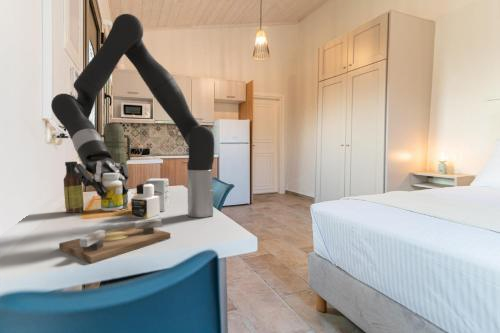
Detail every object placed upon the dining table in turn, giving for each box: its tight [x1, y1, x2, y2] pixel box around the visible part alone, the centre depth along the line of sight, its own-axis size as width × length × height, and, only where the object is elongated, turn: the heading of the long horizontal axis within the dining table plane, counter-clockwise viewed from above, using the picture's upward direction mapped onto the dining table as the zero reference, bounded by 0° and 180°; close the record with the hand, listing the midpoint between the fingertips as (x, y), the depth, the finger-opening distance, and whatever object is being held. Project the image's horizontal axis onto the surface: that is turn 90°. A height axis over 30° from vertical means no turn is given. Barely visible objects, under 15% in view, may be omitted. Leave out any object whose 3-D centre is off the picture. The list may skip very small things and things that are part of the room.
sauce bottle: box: [63, 161, 85, 214], centre depth 116 cm, size 6×6×20 cm
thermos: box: [99, 122, 132, 210], centre depth 120 cm, size 9×12×35 cm
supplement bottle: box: [100, 173, 123, 212], centre depth 79 cm, size 5×5×10 cm
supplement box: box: [145, 178, 170, 213], centre depth 120 cm, size 7×7×13 cm
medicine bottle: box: [130, 183, 161, 220], centre depth 109 cm, size 7×7×12 cm
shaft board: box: [58, 218, 171, 264], centre depth 79 cm, size 16×23×5 cm
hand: (115, 194), depth 78 cm, fingers closed on supplement bottle, 5 cm apart
